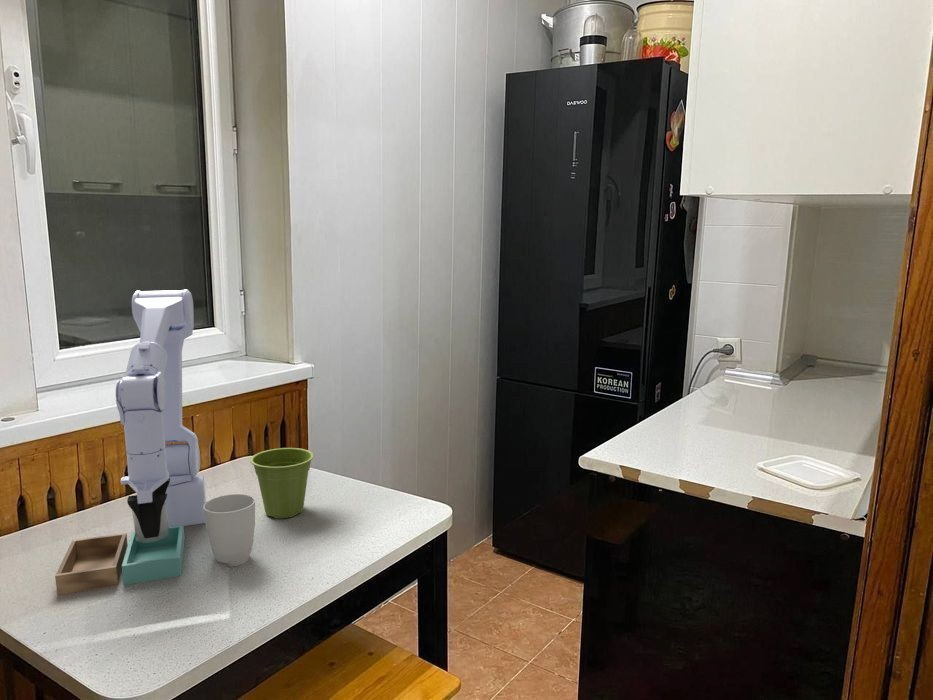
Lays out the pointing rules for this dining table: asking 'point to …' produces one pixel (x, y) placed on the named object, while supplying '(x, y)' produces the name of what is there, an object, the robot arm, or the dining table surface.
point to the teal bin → (154, 558)
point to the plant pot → (282, 479)
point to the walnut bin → (92, 564)
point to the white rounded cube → (162, 533)
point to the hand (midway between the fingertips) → (153, 529)
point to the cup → (231, 527)
